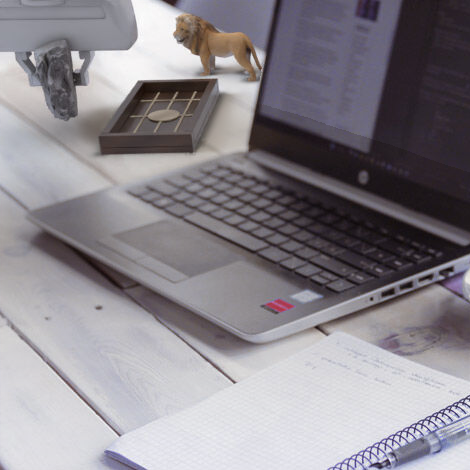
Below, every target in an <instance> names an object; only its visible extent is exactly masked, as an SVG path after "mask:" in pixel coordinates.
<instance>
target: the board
mask: <svg viewBox="0 0 470 470" xmlns="http://www.w3.org/2000/svg"><path fill="white" fill-rule="evenodd" d="M220 95H221V94H220V85H219V78H212V77H211V78H179V79H174V78H173V79H146V80H145V79H140V80H137V81H136V83H135V84H134V86H133V87H132V88H131V90H130V91H129V92H128V94H127V95H126V97H125V98H124V100H123V101H122V102H121V104H120V105H119V106H118V108H117V109H116V111H115V113H114V114H113V115H112V116H111V118H110V119H109V121H108V122H107V123H106V125H105V126H104V127H103V129H102V131H100V133H99V135H98V137H97V138H98V144H99V148H100V149H99V150H100V155H103V156H105V155H141V154H142V155H143V154H145V155H146V154H181V153H182V154H184V153H185V154H187V153H189V154H190V153H191V154H193V153H195V150H196V148H197V146H198V143H199V141H200V139H201V136H202V135H203V133H204V130H205V128H206V126H207V123H208V121H209V119H210V117H211V114H212V113H213V110H214V109H215V106H216V103H217V101H218V99H219V97H220Z"/></svg>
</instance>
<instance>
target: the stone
mask: <svg viewBox="0 0 470 470" xmlns="http://www.w3.org/2000/svg"><path fill="white" fill-rule="evenodd" d="M72 56H73V55H72V51H69V49H68V43H67V39H62V40H57V41H53V42H50V43H48V44H46V45H44V46H42V47H39V48H38V49H36V50H35V51H34V52H33V58H34V61H35V67H36V75H37V77H38V78H39V81H40V83H41V86H40V87H41V88H42V92H43V96H44V101H45V104H46V107H47V109H48V110H49V111H50V113H51V114H52V115H53V117H54V119H59V120H60V121H61V120H62V121H64V122H68V121H69V120H70V119H71V118H73V119H75V118H77V117H78V115H79V108H78V95H77V86H75V85H74V81H75V79H74V78H73V72H74V71H75V70H74V62H73V57H72Z"/></svg>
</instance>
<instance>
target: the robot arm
mask: <svg viewBox="0 0 470 470" xmlns="http://www.w3.org/2000/svg"><path fill="white" fill-rule="evenodd" d="M138 38H139V29H138V23H137V18H136V13H135V9H134V4H133V1H132V0H0V53H14V57H15V62H17V64H18V65H19V66H20V68H21V69H22V70H23V71H24V73H25V74H27V78H28V85H29V87H31V88H34V87H42V86H41V83H40V81H39V78H38V77H37V75H36V65H35V64H34V63H33V61H32V60H31V58H30V57H32V55H33V53H34V51H35V50H36V49H38V48H39V47H42V46H44V45H46V44H48V43H50V42H53V41H57V40H62V39H67V43H68V49H69V51H71V52H78V58H79V60H83V63H82V65H81V68H75V70H73V71H74V72H73V78H74V80H75V81H74V85H75V86H76V87H88V85H89V84H90V74H89V69H90V67H91V65H92V62H93V61H94V58H95V56H96V52H110V51H112V52H117V51H118V52H119V51H121V52H123V51H125V52H126V51H129V50H130V49H131V48H133V47H134V45H135V44H136V42H137V41H138Z"/></svg>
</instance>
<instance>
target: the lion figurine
mask: <svg viewBox="0 0 470 470" xmlns="http://www.w3.org/2000/svg"><path fill="white" fill-rule="evenodd" d="M174 19H175V31H173V33H172V36H173V38H174V39H175V40H176V43H177V44H178V45H182V47H184V48H186V49H187V50H189V51H190V54H191V55H193V56H197V57H199V59H200V62H201V65H202V67H203V72H201V73H200V76H210V75H211V72H212V71H213V70H216V58H222V59H227V58H230V57H234V59H235V61H236V62H237V63H238V65H240V67H241V68H243V71H242V74H244V75H249V77H247V79H246V81H247V82H256V81H257V74H256V71H255V68H254V67H255V66H253V64H252V61H251V60H252V59H251V57H252V58H253V60H254V62H255V65H256V67H257V69H258V71H259V72H261V69H263V67H262V66H261V64H260V60H259V58H258V55H257V52H256V49H255V46H254V45H253V42H252V41H251V38H250V37H249V36H248V35H247V34H246V33H243V32H242V31H241V32H240V31H236V32H222V31H219V30H218V29H216V27H215V26H214V24H212V23H211V22H208V20H204V19H203V18H202V17H201V16H198V15H195V14H191V13H182V14H180V15H178V16H177V17H175V18H174Z"/></svg>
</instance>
